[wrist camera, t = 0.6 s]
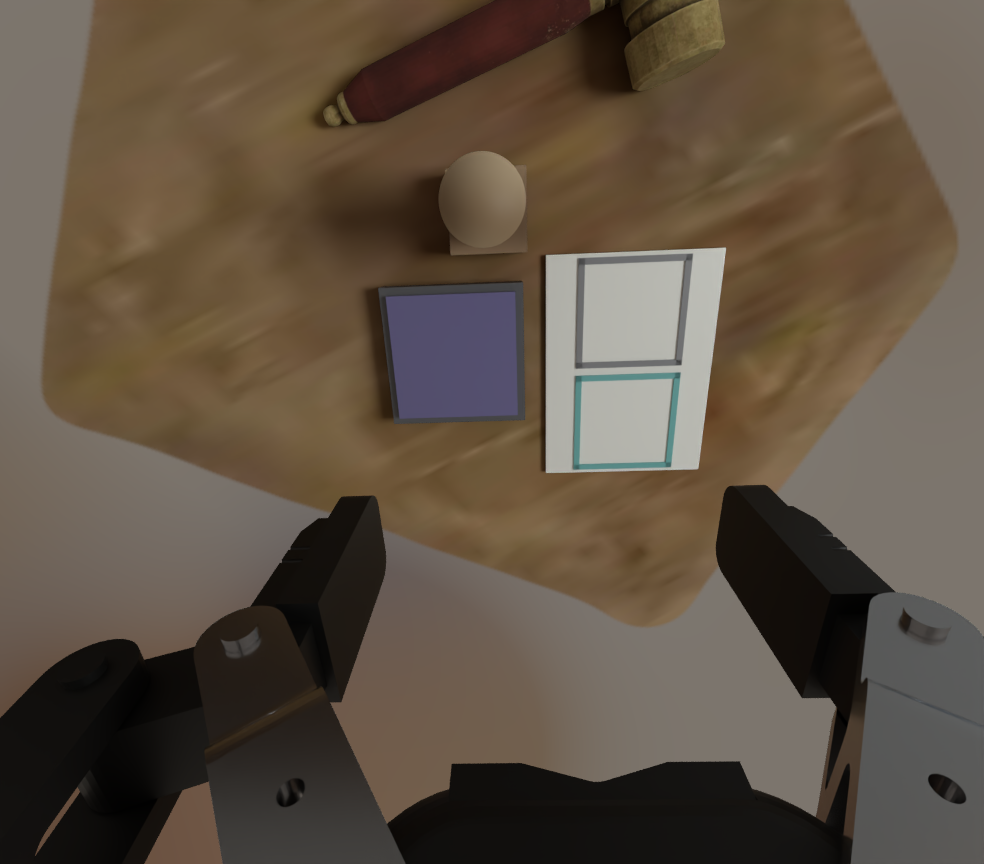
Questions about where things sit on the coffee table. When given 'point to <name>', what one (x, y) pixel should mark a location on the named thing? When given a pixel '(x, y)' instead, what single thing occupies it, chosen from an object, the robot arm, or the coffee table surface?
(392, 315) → the ink pad
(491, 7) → the gavel
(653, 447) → the sheet
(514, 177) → the stamp
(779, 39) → the coffee table surface
